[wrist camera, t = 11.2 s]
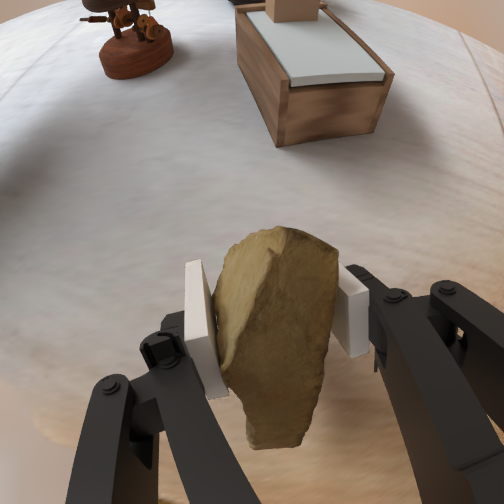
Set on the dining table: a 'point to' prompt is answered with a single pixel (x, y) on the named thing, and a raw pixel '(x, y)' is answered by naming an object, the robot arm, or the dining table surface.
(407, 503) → the dining table surface
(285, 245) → the rock
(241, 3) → the glass bottle
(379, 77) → the lid
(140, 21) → the wooden bird figurine
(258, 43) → the box
